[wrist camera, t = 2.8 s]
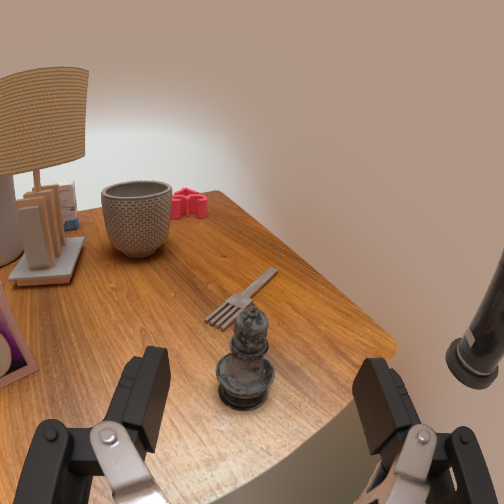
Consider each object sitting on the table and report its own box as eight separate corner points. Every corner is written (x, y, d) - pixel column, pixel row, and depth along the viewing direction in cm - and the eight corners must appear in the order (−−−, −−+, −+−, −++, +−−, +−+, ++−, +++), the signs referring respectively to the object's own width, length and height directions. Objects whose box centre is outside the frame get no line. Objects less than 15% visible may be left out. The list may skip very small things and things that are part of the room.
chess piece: (204, 390, 27) (202, 302, 22) (240, 363, 32) (249, 277, 26) (246, 422, 24) (259, 339, 19) (280, 390, 28) (303, 304, 23)
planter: (176, 238, 62) (177, 180, 56) (167, 269, 49) (165, 198, 44) (118, 236, 60) (114, 180, 54) (97, 265, 47) (89, 198, 42)
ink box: (79, 222, 65) (75, 179, 60) (77, 229, 61) (72, 184, 56) (51, 226, 61) (45, 184, 56) (47, 233, 57) (41, 188, 52)
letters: (169, 203, 84) (169, 188, 82) (201, 203, 87) (202, 187, 85) (169, 219, 72) (169, 201, 70) (207, 218, 75) (208, 200, 72)
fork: (266, 268, 53) (266, 265, 53) (281, 273, 52) (282, 270, 52) (204, 322, 38) (204, 318, 37) (223, 331, 37) (224, 327, 36)
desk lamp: (26, 248, 49) (15, 93, 34) (100, 241, 56) (97, 78, 41) (-4, 296, 33) (-32, 89, 18) (87, 291, 40) (75, 60, 25)
